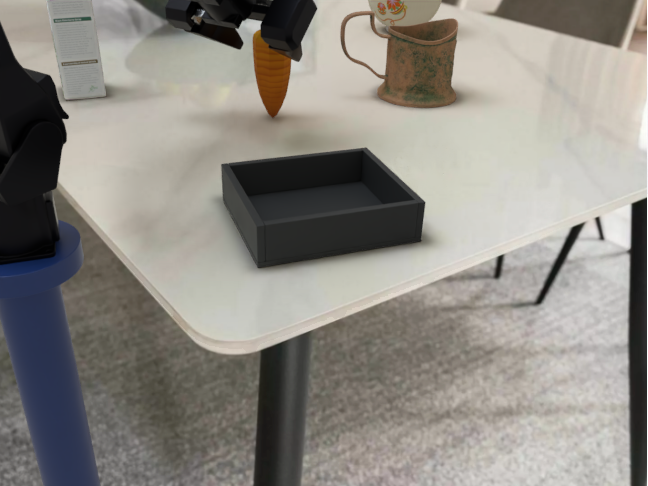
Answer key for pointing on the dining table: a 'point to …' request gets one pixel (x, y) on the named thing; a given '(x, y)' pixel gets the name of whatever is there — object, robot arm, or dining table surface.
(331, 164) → the tray
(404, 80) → the mug
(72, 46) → the syrup box
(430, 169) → the dining table surface
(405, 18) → the bowl
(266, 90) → the carrot
